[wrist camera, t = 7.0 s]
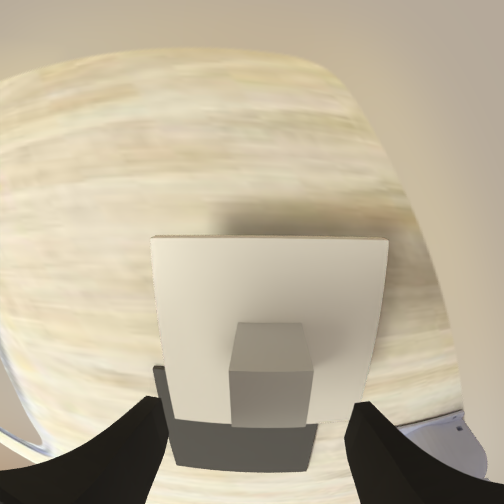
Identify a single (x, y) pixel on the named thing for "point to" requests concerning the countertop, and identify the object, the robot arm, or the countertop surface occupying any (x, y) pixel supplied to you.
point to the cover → (267, 325)
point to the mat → (234, 442)
